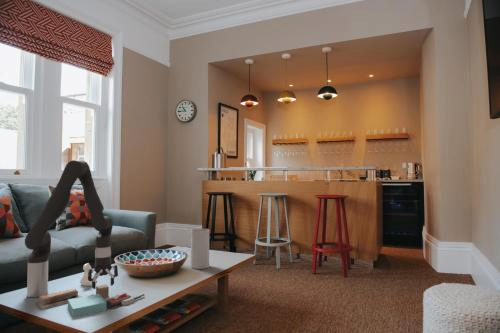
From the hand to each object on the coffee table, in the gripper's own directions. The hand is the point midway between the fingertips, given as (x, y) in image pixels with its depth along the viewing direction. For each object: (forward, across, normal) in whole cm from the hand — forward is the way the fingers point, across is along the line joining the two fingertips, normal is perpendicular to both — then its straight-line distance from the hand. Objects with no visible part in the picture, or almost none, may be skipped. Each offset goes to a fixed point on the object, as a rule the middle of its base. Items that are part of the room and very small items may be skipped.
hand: (103, 286), depth 181 cm
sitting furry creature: (+4, +2, -24) cm, 25 cm away
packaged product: (+5, +19, -4) cm, 20 cm away
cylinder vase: (+5, -68, -22) cm, 71 cm away
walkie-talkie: (+5, -6, +15) cm, 17 cm away
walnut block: (+5, 0, 0) cm, 5 cm away
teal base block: (+5, +10, +14) cm, 18 cm away
